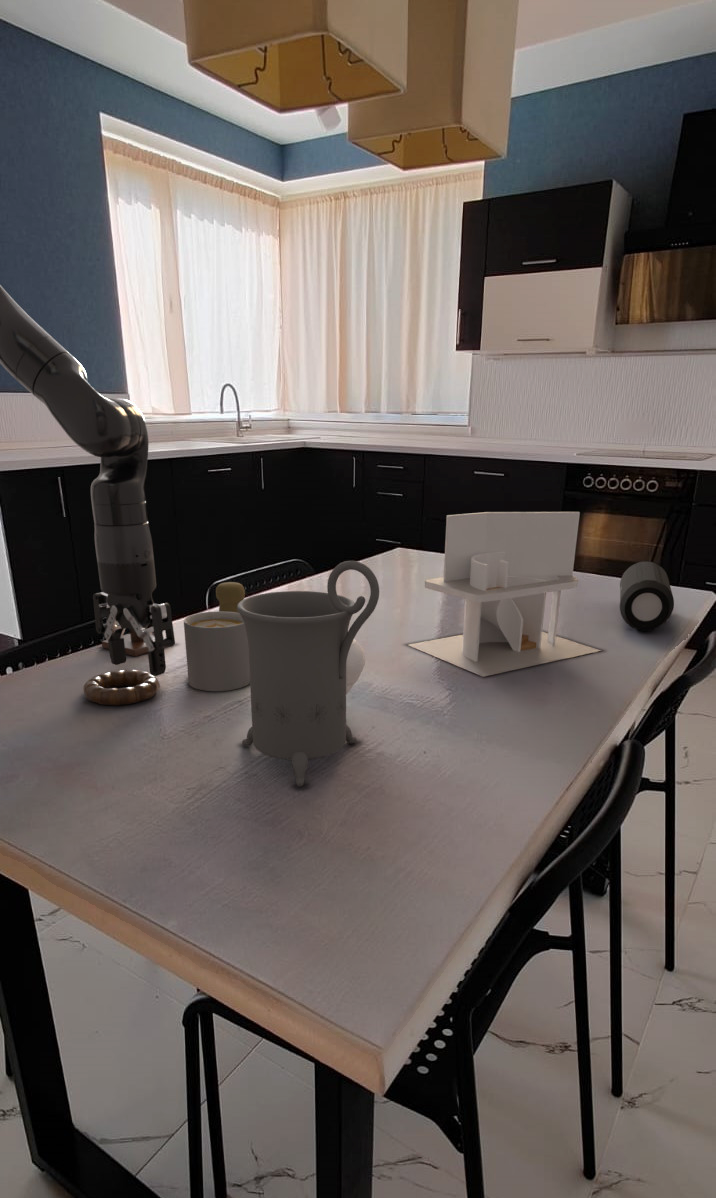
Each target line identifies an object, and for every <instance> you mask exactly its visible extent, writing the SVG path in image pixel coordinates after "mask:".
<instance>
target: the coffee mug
mask: <svg viewBox="0 0 716 1198" xmlns="http://www.w3.org/2000/svg"><path fill="white" fill-rule="evenodd" d="M183 630H184V631H183V632H184V644H185V656H186V657H185V658H186V665H187V666H186V667H187V679H188V681H187V682H188V685H189V686H190V687H192V688H194V689H195V690H200V691H206V692H226V691H233V690H238V689H241V688H242V689H243V688H245V687H246V686H248V685H250V667H249V648H248V638H247V632H246V627H245V624H244V621H243V619H242V617H241V615H240V613H236V612H225V611H219V610H218V611H205V612H204V611H203V612H198V613H194V614H191V615H187V616H186V617H185V618H184V619H183Z"/></svg>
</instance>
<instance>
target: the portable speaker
mask: <svg viewBox="0 0 716 1198" xmlns="http://www.w3.org/2000/svg"><path fill="white" fill-rule="evenodd" d="M674 607H675V599H674V595H673V592H672V588H671V584H670V580H669V577H668V574H667V572H666V570H665V569H664V568H663V567H662V566H660V565H659V564H657V563H655V562H653V561H647V560H646V561H644V560H643V561H639V562H636V563H633V564H632V565H630V566H629V567H628V568H627V569H625V571H624V572H623V574H622V575H621V578H620V580H619V612H620V615H621V618H622V620H623V621H624V622H625V623H626V624H627V625H628V626H629V627H631V628H633V629H635V630H636V631H643V632H645V631H646V632H648V631H653V630H656V629H658V628H660V627H662V626H663V625H665V624H666V623H667V622H668V620H669V619H670V617H671V616H672V614H673V611H674Z"/></svg>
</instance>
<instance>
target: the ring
mask: <svg viewBox="0 0 716 1198" xmlns="http://www.w3.org/2000/svg"><path fill="white" fill-rule="evenodd" d="M123 686H128V687H123ZM117 687H120V688H117ZM121 687H122V688H121ZM160 687H161V685H160V682H159V680H158V678H157V676H153V675H151V674H150V672H147V671H143V670H136V669H121V670H112V671H106V672H103V673H100V674H97V675H94V676H92V677H91V678H90V679H88V680H87V681H86V682H85V683H84V684H83V687H82V688H83V689H82V690H83V692H84V695H85V697H86V699H87V700H88V701H91V702H94V703H96V704H98V705H102V706H103V705H105V706H124V705H130V704H137V703H140V702H143V701H146V700H149V699H151V698H153V696H155V695H156V693H157V692H158V691H159V690H160Z"/></svg>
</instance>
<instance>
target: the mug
mask: <svg viewBox="0 0 716 1198" xmlns="http://www.w3.org/2000/svg"><path fill="white" fill-rule="evenodd" d="M347 571H355V572H356V571H357V572H358V573H360V574H361V575H363V576H364V577H365V579H366V580H367V582H368V586H369V590H370V595H369V599H368V602H367V604H366V606H365V603H366V598H365V597H364V596H363V595H359V596H358V597H357V598H356V601H354V600H352V599H350V598H349V597H346V596H343V595H340V594H338V593H337V583H338V579H339V577H340V576H341V575H342V574H343V573H344V572H347ZM326 588H327V592H324V591H323V592H322V591H313V590H312V591H310V590H284V591H273V592H272V591H271V592H265V593H260V594H256V595H252V596H248V597H246V598H244V599H243V600H242V601H240V602H239V604H238V605H237V611H238V612H239V613H240V615H241V617H242V619H243V621H244V624H245V627H246V632H247V638H248V648H249V667H250V684H249V685H250V686H249V688H250V704H251V705H250V706H251V707H250V708H251V709H250V710H251V726H250V728H249V729H248V731H247V733H246V738H243V739H242V741H241V742H242V745H243V746H247V747H248V746H251V745H253V747H254V748H255V749H256V750H257V751H258V752H260V753H261V754H263V755H265V756H268V757H271V758H275V759H281V760H289V761H291V765H292V769H293V773H294V776H295V781H296V785H297V786H298V787H303V786H304V783H305V776H306V771H307V768H308V763H309V760H315V759H321V758H325V757H327V756H330V755H333V754H335V753H337V752H339V751H340V750H342V749H343V748H344V746H345V745H346V743H347V744H356V743H357V738H356V736H353V733H352V730H351V728H350V726H349V725H348V724H347V694H346V661H347V656H348V653H349V649H350V647H351V644H352V642H353V640H354V639H356V638H355V637H356V636H357V634H358V632H359V631H360V629H361V628H362V626H363V625H364V624H365V622H366V621H367V620H368V619H369V618H370V617H371V616H372V614H373V613H374V611H375V609H376V607H377V605H378V602H379V599H380V598H379V597H380V585H379V582H378V579H377V576H376V575H375V573H374V571H373V570H372V569H371V568H370V567H368V566H367V565H366V564H365V563H362V562H360V561H357V560H344V561H343V562H340V563H339V564H337V565H336V566H335V567H334V568H333V569H332V571H330V574H329V576H328V579H327V586H326ZM364 606H365V607H364ZM363 607H364V609H363ZM361 610H362V611H361ZM360 611H361V613H359V612H360ZM357 613H359V615H358V616H357V618H356V619H355V620H354V621H353V623H352V624H351V626H350V622H351V620H352V617H353V615H354V614H357ZM349 627H350V628H349Z"/></svg>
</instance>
